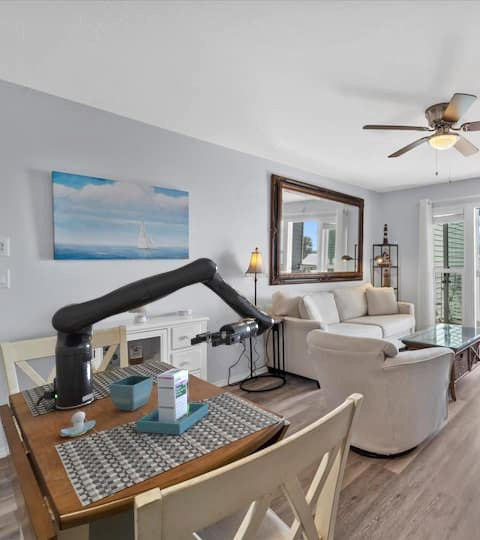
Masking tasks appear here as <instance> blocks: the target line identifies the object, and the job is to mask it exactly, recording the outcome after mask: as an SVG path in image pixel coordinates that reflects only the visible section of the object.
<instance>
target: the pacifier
mask: <svg viewBox="0 0 480 540" xmlns="http://www.w3.org/2000/svg"><path fill="white" fill-rule="evenodd" d="M85 418H86V413H85V412H84V411H77V412H75V413H74V414H73V415H72V416H71V418H70V421H71V423H72V425H73V426H71V427H68V428H63V429H61V430H60V433H61V434H60V436H61V437H70V438H75V437H79V436H81V435H83V434H86V433H87V431H89V430H91V429H92V428H93V427H94V426H95V425H96V420H95V419H91V420H89V421H85V422H84V420H85Z"/></svg>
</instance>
